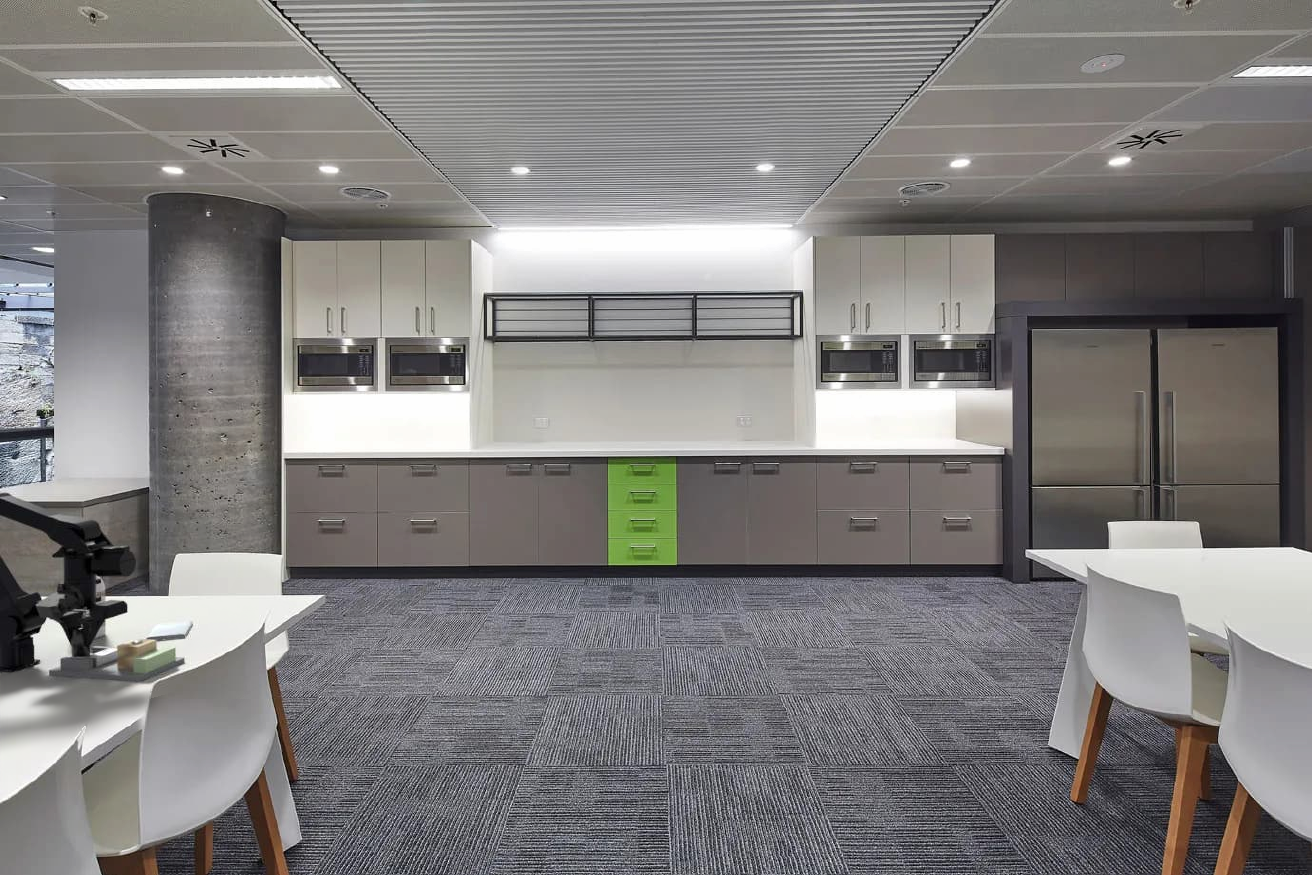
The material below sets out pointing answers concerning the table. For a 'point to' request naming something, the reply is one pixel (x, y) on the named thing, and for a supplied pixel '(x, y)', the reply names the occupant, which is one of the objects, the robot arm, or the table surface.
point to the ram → (84, 652)
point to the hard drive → (170, 630)
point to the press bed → (142, 668)
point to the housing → (133, 651)
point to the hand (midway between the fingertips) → (80, 645)
